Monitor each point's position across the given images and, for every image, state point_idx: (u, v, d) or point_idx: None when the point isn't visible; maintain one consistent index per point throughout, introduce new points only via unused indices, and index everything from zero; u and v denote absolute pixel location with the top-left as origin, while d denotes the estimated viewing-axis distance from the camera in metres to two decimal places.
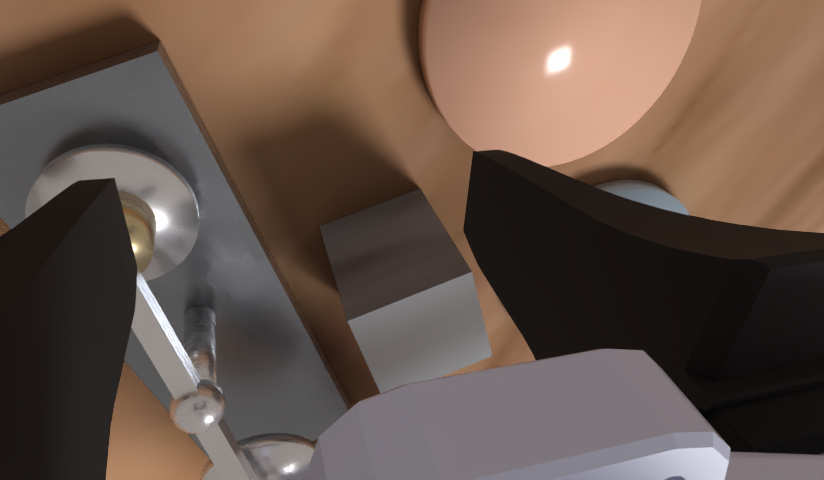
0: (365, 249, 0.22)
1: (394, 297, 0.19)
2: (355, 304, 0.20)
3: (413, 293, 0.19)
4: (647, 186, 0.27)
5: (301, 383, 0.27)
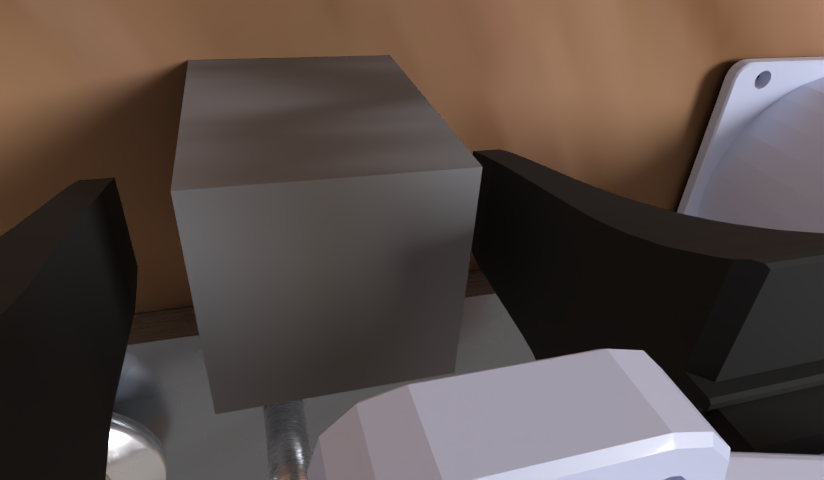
0: None
1: (201, 331, 0.09)
2: None
3: (194, 306, 0.09)
4: None
5: (470, 329, 0.18)
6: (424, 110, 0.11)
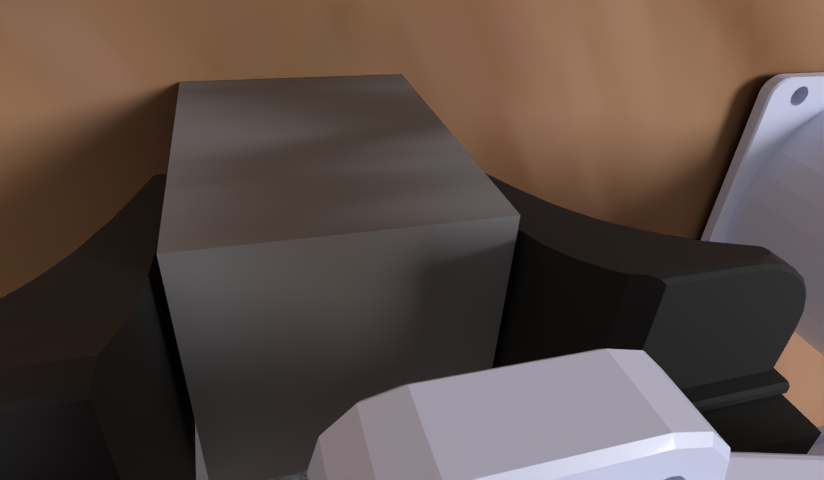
0: None
1: (194, 403, 0.08)
2: None
3: (187, 378, 0.08)
4: None
5: None
6: (446, 141, 0.10)
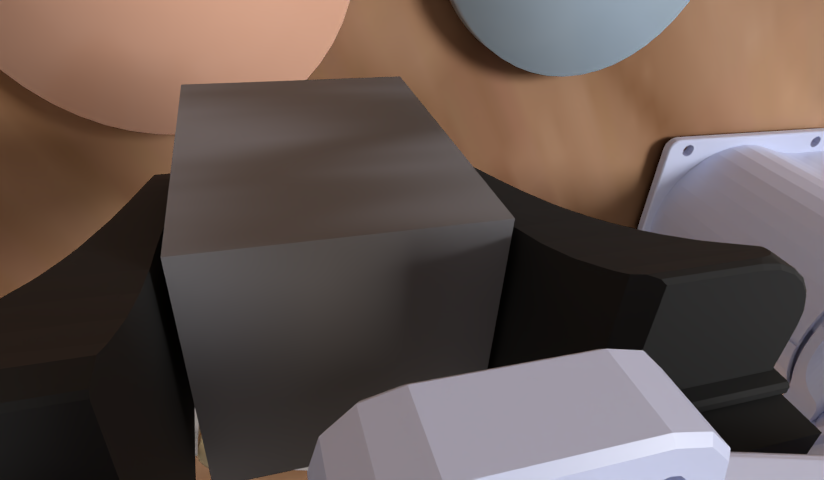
0: None
1: (196, 400, 0.08)
2: None
3: (189, 377, 0.08)
4: None
5: None
6: (443, 144, 0.10)
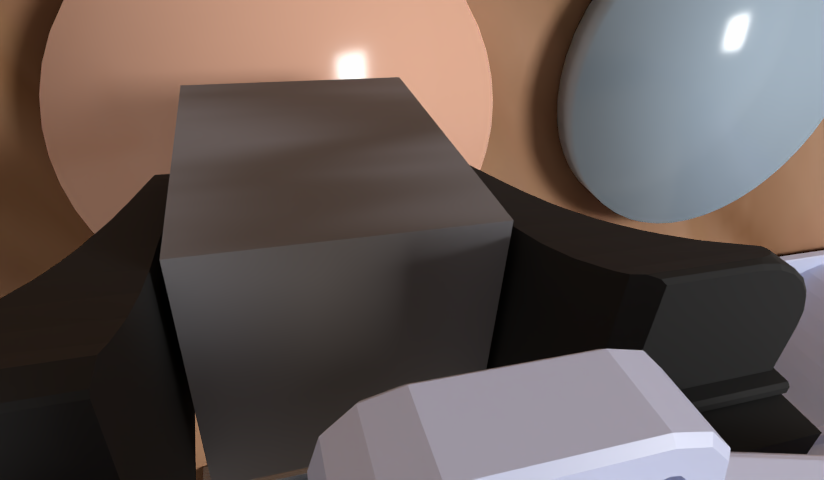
0: None
1: (196, 403, 0.08)
2: None
3: (189, 379, 0.08)
4: None
5: None
6: (442, 145, 0.10)
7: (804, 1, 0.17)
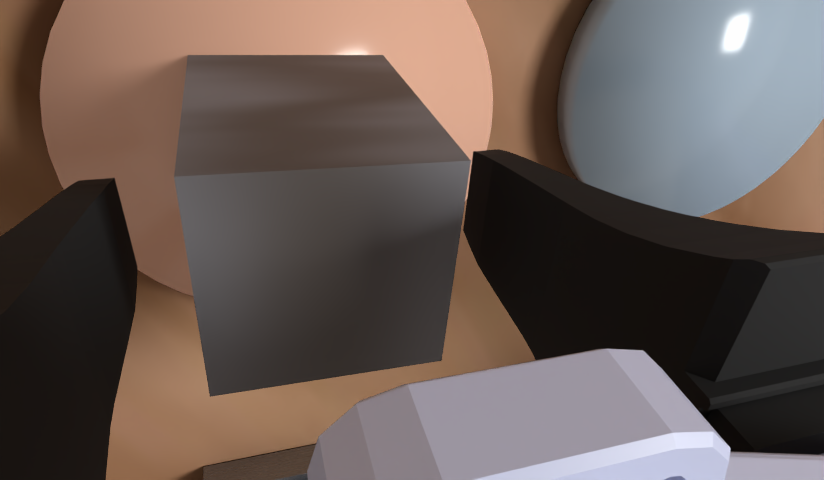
0: None
1: (198, 315, 0.10)
2: None
3: (193, 290, 0.09)
4: None
5: None
6: (416, 106, 0.11)
7: (804, 1, 0.17)
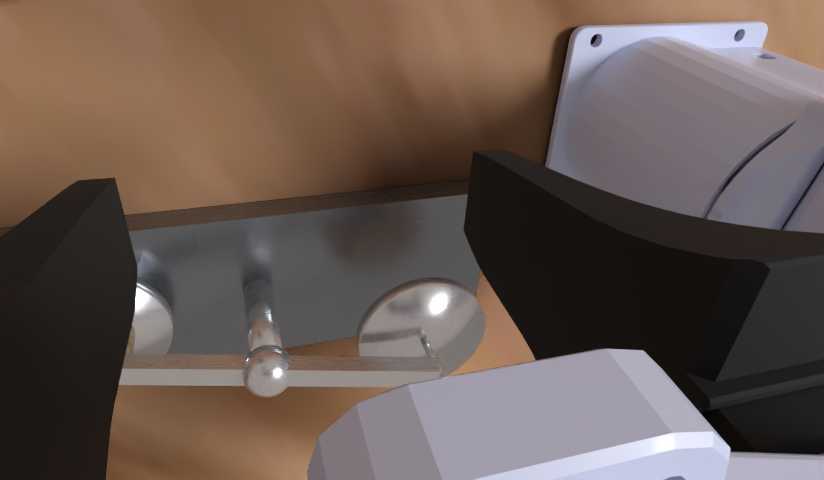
0: None
1: None
2: None
3: None
4: None
5: (394, 229, 0.24)
6: None
7: None
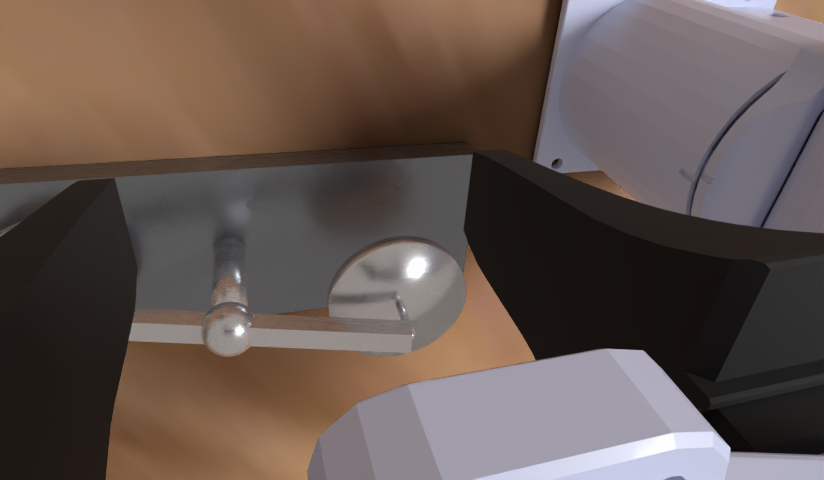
0: None
1: None
2: None
3: None
4: None
5: (374, 191, 0.23)
6: None
7: None
